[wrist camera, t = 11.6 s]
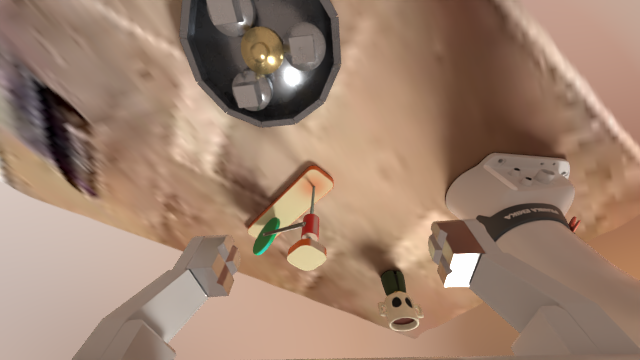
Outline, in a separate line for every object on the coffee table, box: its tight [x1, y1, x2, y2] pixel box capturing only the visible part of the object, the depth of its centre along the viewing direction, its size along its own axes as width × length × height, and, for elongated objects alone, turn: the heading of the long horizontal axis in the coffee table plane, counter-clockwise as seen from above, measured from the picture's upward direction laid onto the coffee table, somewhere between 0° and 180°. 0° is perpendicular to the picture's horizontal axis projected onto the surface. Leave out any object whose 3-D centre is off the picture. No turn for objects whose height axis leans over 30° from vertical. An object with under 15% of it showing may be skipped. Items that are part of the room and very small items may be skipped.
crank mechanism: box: [247, 166, 334, 271], centre depth 46 cm, size 25×7×19 cm, turn 138°
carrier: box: [179, 0, 341, 128], centre depth 34 cm, size 22×22×6 cm
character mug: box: [378, 271, 424, 331], centre depth 61 cm, size 11×7×13 cm, turn 87°
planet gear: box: [283, 22, 326, 71], centre depth 33 cm, size 6×6×5 cm
